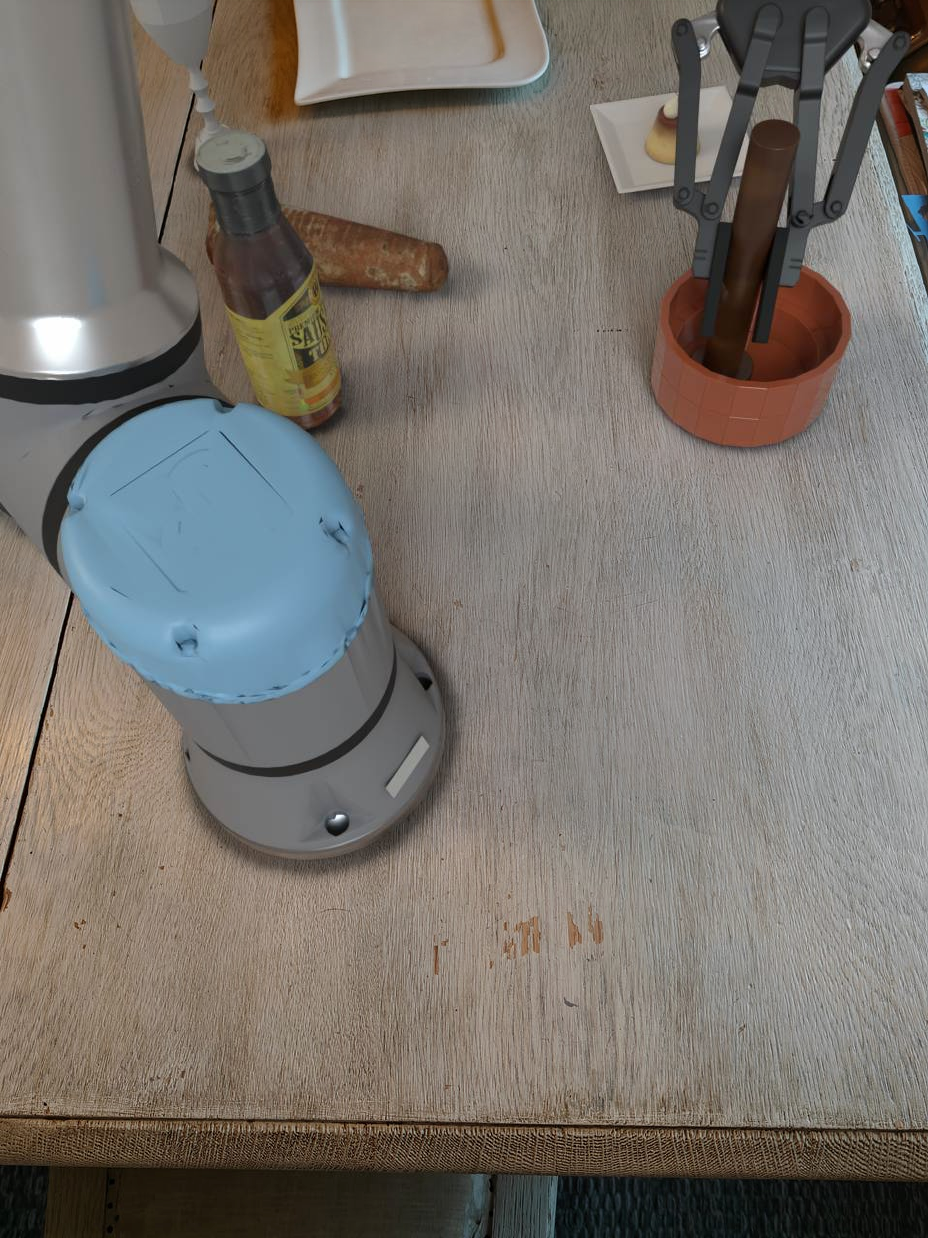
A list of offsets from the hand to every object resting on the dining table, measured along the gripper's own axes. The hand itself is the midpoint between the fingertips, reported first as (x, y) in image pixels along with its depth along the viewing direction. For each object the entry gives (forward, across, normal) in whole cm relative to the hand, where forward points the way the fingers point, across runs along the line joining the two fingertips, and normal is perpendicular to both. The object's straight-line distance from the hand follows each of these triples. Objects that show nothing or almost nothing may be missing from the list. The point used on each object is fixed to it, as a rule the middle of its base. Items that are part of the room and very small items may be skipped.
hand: (732, 338), depth 59 cm
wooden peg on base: (+2, 0, -8) cm, 8 cm away
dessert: (-15, +6, -27) cm, 32 cm away
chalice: (-11, +45, -23) cm, 52 cm away
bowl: (+3, -1, -9) cm, 10 cm away
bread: (-2, +31, -14) cm, 34 cm away
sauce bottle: (+8, +29, -5) cm, 31 cm away
